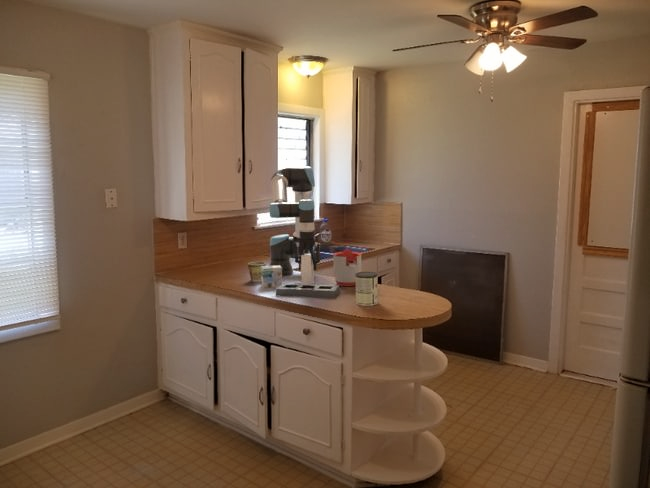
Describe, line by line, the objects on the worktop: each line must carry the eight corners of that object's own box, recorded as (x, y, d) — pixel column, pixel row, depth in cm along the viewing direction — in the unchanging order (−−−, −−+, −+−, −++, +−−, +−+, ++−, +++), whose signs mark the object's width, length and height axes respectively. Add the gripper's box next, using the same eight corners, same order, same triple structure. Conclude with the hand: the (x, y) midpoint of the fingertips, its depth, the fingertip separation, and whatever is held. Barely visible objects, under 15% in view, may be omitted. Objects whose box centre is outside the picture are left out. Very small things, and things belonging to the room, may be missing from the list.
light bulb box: (263, 288, 292) (262, 268, 291) (261, 285, 299) (260, 266, 297) (282, 286, 295) (282, 267, 294) (280, 284, 301) (279, 264, 300)
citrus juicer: (338, 289, 287) (338, 251, 284) (329, 282, 304) (329, 246, 301) (367, 287, 291) (367, 249, 288) (356, 280, 308) (356, 245, 305)
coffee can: (354, 300, 262) (354, 271, 260) (376, 300, 262) (376, 271, 260) (356, 306, 252) (356, 276, 250) (378, 305, 252) (378, 275, 250)
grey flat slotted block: (283, 289, 288) (283, 283, 287) (339, 291, 281) (339, 285, 280) (275, 295, 275) (275, 288, 275) (334, 297, 268) (334, 290, 268)
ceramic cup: (262, 282, 306) (262, 265, 305) (245, 282, 308) (245, 264, 307) (269, 278, 319) (269, 261, 317) (253, 277, 321) (252, 260, 319)
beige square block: (304, 282, 280) (303, 253, 278) (313, 283, 279) (313, 253, 277) (301, 284, 275) (301, 255, 273) (311, 285, 274) (310, 255, 272)
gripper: (287, 231, 272) (288, 277, 275) (322, 231, 268) (323, 278, 271) (291, 229, 279) (292, 274, 282) (326, 230, 275) (326, 275, 278)
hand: (307, 276), depth 277 cm, fingers closed on beige square block, 5 cm apart
